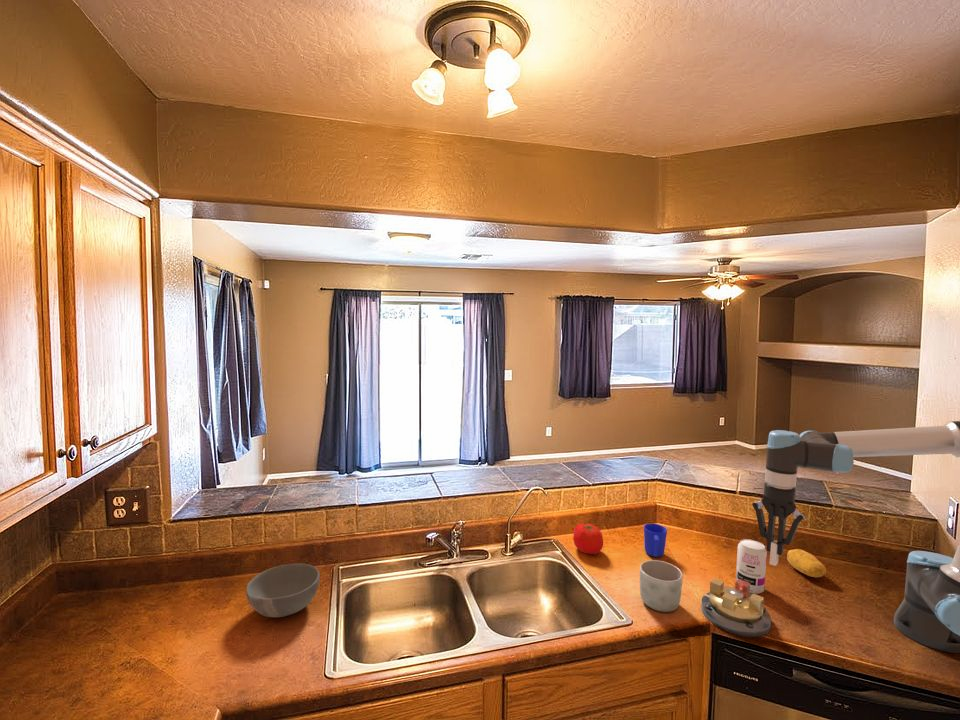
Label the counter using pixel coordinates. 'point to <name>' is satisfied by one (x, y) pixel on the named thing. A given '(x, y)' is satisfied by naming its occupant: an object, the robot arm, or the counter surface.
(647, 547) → the mug
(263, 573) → the bowl
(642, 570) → the planter
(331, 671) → the counter surface
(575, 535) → the tomato
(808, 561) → the potato
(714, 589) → the brass disc with cubes
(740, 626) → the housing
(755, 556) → the supplement can
